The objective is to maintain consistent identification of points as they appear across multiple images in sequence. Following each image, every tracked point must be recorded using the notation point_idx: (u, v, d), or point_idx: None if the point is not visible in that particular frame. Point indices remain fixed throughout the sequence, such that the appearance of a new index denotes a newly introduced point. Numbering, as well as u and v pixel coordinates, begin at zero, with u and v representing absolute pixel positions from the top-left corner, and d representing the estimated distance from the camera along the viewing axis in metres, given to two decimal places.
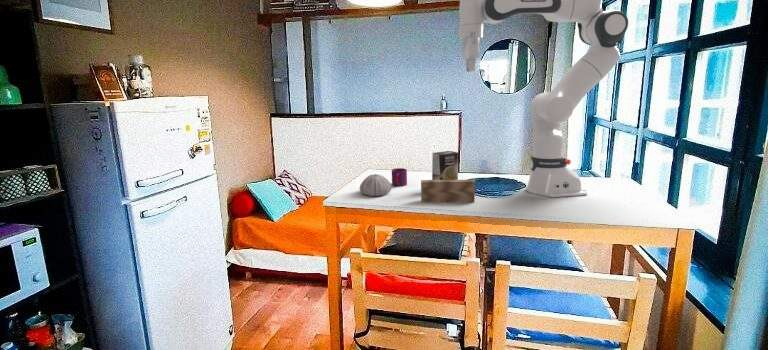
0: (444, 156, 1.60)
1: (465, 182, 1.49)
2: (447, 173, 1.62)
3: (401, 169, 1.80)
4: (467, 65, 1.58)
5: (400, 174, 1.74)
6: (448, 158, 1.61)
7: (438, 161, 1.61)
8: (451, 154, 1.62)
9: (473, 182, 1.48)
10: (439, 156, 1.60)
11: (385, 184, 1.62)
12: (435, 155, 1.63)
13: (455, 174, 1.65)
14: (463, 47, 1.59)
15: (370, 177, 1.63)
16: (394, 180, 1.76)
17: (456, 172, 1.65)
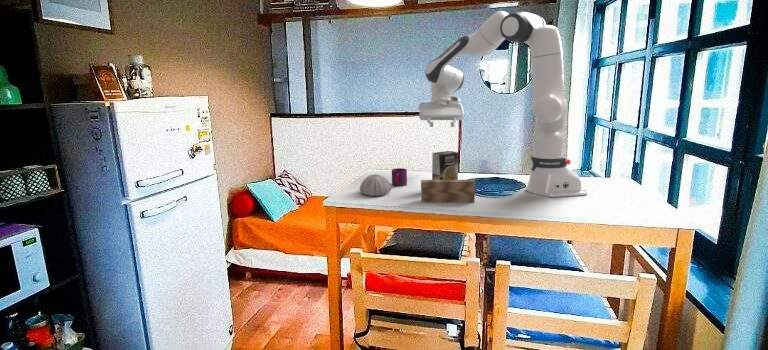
0: (444, 156, 1.60)
1: (465, 182, 1.49)
2: (447, 173, 1.62)
3: (401, 169, 1.80)
4: None
5: (400, 174, 1.74)
6: (448, 158, 1.61)
7: (438, 161, 1.61)
8: (451, 154, 1.62)
9: (473, 182, 1.48)
10: (439, 156, 1.60)
11: (385, 184, 1.62)
12: (435, 155, 1.63)
13: (455, 174, 1.65)
14: None
15: (370, 177, 1.63)
16: (394, 180, 1.76)
17: (456, 172, 1.65)
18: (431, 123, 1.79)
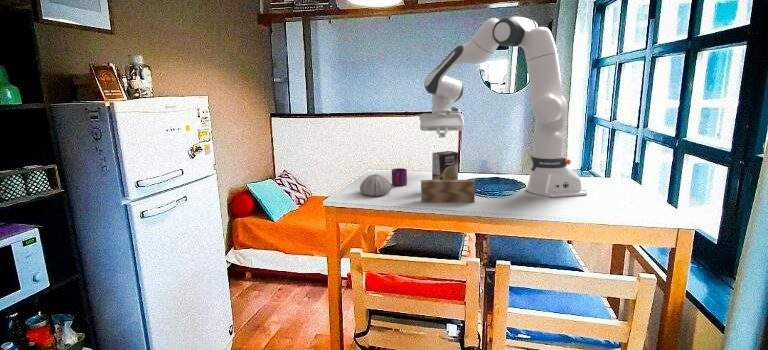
0: (444, 156, 1.60)
1: (465, 182, 1.49)
2: (447, 173, 1.62)
3: (401, 169, 1.80)
4: None
5: (400, 174, 1.74)
6: (448, 158, 1.61)
7: (438, 161, 1.61)
8: (451, 154, 1.62)
9: (473, 182, 1.48)
10: (439, 156, 1.60)
11: (385, 184, 1.62)
12: (435, 155, 1.63)
13: (455, 174, 1.65)
14: None
15: (370, 177, 1.63)
16: (394, 180, 1.76)
17: (456, 172, 1.65)
18: (440, 134, 1.81)
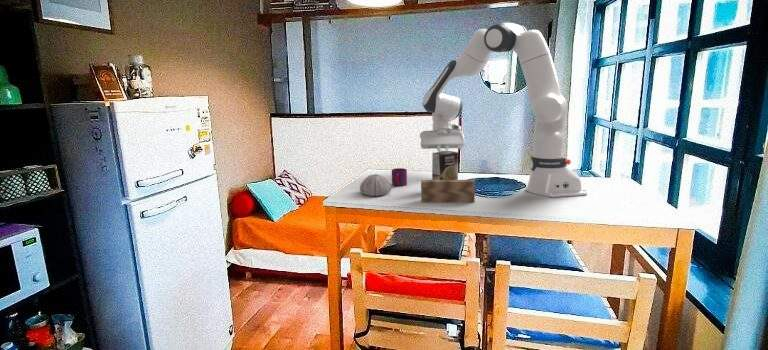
0: (444, 156, 1.60)
1: (465, 182, 1.49)
2: (447, 173, 1.62)
3: (401, 169, 1.80)
4: None
5: (400, 174, 1.74)
6: (448, 158, 1.61)
7: (438, 161, 1.61)
8: (451, 154, 1.62)
9: (473, 182, 1.48)
10: (439, 156, 1.60)
11: (385, 184, 1.62)
12: (435, 155, 1.63)
13: (455, 174, 1.65)
14: None
15: (370, 177, 1.63)
16: (394, 180, 1.76)
17: (456, 172, 1.65)
18: None
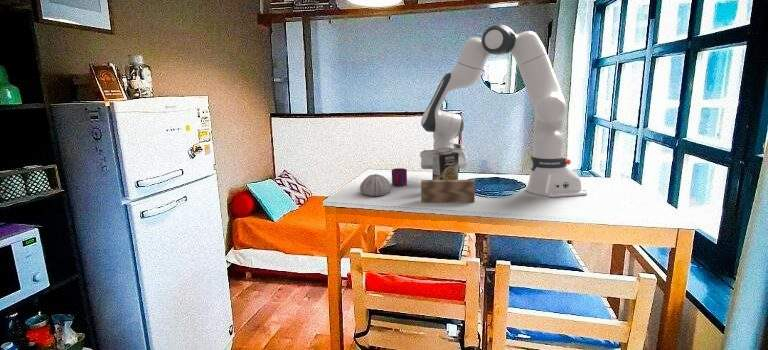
0: (444, 156, 1.60)
1: (465, 182, 1.49)
2: (447, 174, 1.62)
3: (401, 169, 1.80)
4: None
5: (400, 174, 1.74)
6: (448, 158, 1.61)
7: (438, 162, 1.61)
8: (451, 154, 1.61)
9: (473, 182, 1.48)
10: (439, 156, 1.60)
11: (385, 184, 1.62)
12: (435, 155, 1.62)
13: (455, 174, 1.64)
14: None
15: (370, 177, 1.63)
16: (394, 180, 1.76)
17: (456, 172, 1.64)
18: None
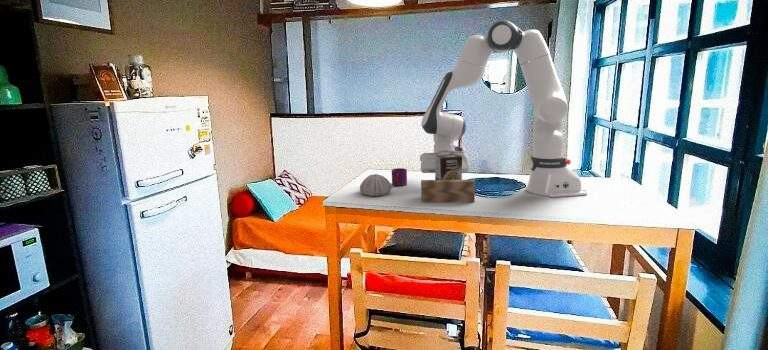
0: (445, 159, 1.53)
1: (465, 182, 1.49)
2: (449, 178, 1.55)
3: (401, 169, 1.80)
4: None
5: (400, 174, 1.74)
6: (450, 161, 1.54)
7: (439, 165, 1.55)
8: (454, 158, 1.54)
9: (473, 182, 1.48)
10: (440, 159, 1.54)
11: (385, 184, 1.62)
12: (437, 158, 1.56)
13: (458, 179, 1.57)
14: None
15: (370, 177, 1.63)
16: (394, 180, 1.76)
17: (459, 177, 1.57)
18: None
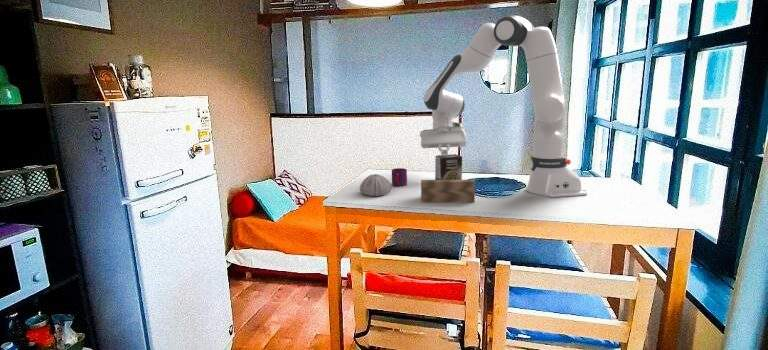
0: (445, 159, 1.53)
1: (465, 182, 1.49)
2: (449, 178, 1.55)
3: (401, 169, 1.80)
4: None
5: (400, 174, 1.74)
6: (450, 161, 1.54)
7: (439, 165, 1.55)
8: (453, 158, 1.54)
9: (473, 182, 1.48)
10: (440, 159, 1.54)
11: (385, 184, 1.62)
12: (437, 158, 1.56)
13: (458, 179, 1.57)
14: None
15: (370, 177, 1.63)
16: (394, 180, 1.76)
17: (459, 177, 1.57)
18: (442, 151, 1.74)
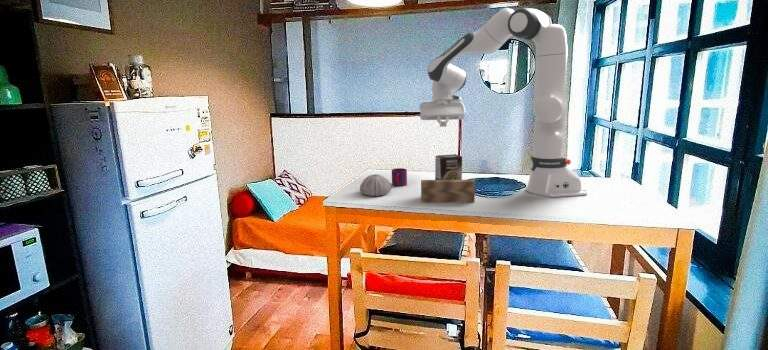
0: (445, 159, 1.53)
1: (465, 182, 1.49)
2: (449, 178, 1.55)
3: (401, 169, 1.80)
4: None
5: (400, 174, 1.74)
6: (450, 161, 1.54)
7: (439, 165, 1.55)
8: (453, 158, 1.54)
9: (473, 182, 1.48)
10: (440, 159, 1.54)
11: (385, 184, 1.62)
12: (437, 158, 1.56)
13: (458, 179, 1.57)
14: None
15: (370, 177, 1.63)
16: (394, 180, 1.76)
17: (459, 177, 1.57)
18: (441, 123, 1.75)
